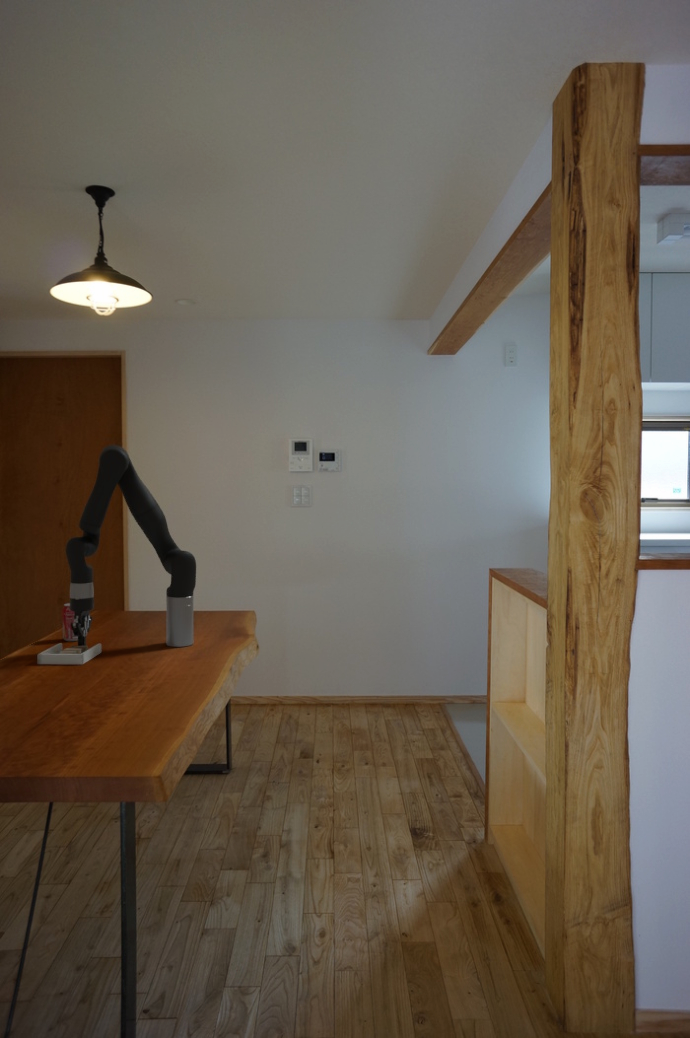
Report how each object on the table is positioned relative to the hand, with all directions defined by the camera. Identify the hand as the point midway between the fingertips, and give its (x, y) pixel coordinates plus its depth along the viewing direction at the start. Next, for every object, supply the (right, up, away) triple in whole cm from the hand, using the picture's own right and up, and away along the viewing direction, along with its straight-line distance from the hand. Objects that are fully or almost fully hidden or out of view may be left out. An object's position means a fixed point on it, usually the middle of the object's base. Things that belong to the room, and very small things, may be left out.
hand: (81, 647), depth 225 cm
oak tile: (0, -2, -9) cm, 9 cm away
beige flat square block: (0, -2, -4) cm, 4 cm away
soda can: (-10, -1, +17) cm, 20 cm away
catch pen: (0, -2, -10) cm, 10 cm away
